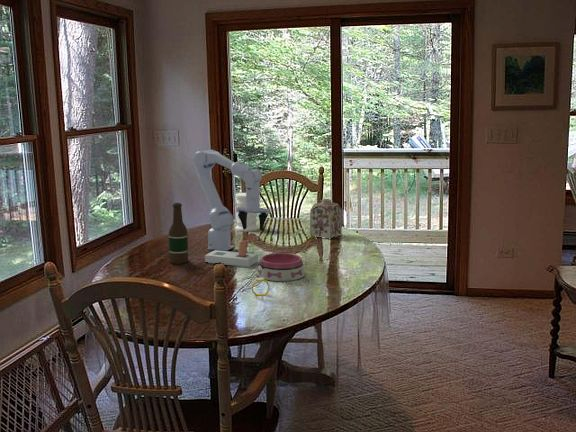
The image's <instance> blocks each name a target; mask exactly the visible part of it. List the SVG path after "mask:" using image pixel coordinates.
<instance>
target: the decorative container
mask: <svg viewBox="0 0 576 432" xmlns="http://www.w3.org/2000/svg"><path fill="white" fill-rule="evenodd" d="M235 198H236V199H237V200H236V201H235V202H236V208H237V207H246V192H239V193H235ZM254 212H256V211H254ZM238 213H239V212H236V217H237V219H236V223H237V225H236V226H235V227H234V228H235V229H234V231H238V232H243V233H244V232H248V233H249V232H255V231H258V230H259V226H258V225H257V221H258V220H257V215H258V213H247V228H246V229H243V226H242V223H241V220H240V218H239V216H238Z"/></svg>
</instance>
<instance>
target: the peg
mask: <svg viewBox="0 0 576 432" xmlns="http://www.w3.org/2000/svg"><path fill="white" fill-rule="evenodd" d="M238 252H239V257H243V258H246V253H247V241H246V240H243V239H242V240H238Z"/></svg>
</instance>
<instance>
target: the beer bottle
mask: <svg viewBox="0 0 576 432" xmlns="http://www.w3.org/2000/svg"><path fill="white" fill-rule="evenodd" d="M182 206H183V205H182V203H181V202H175V203H172V207H173V209H172V210H173V211H172V224H171V226H170V227H169V230H168V250H169V251H168V254H169V257H168V258H169V262H170V264H173V265H182V263H183V264H187V263H188V261H189V242H188V241H189V240H188V239H189V238H188V236H189V235H188V228H187V226H186V225H185V224H184V222H183V213H182V212H183V211H182ZM186 262H187V263H186Z"/></svg>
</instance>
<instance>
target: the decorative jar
mask: <svg viewBox="0 0 576 432" xmlns="http://www.w3.org/2000/svg"><path fill="white" fill-rule="evenodd" d="M309 211H310V212H309V213H310V214H309V236H316V237H325V238H331V237H334V236H336V235H338V234H341V235H342V229H343V225H342V224H343V223H342V221H343V218H342V217H343V209H342V207H341V206H340V204H338V203H336V202H333V201H332V199H331V198H323V199H321V201H319V202H315V203H313V205H312V206H311V208H310V210H309ZM316 237H315V238H316Z"/></svg>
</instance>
